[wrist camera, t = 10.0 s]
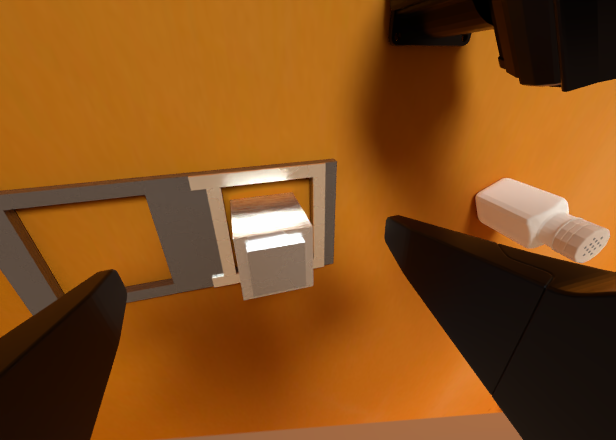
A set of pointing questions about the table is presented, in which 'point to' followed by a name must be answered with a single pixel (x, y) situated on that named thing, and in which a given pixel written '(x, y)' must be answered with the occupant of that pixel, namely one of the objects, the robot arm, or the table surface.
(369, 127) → the table surface
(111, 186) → the rail
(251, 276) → the grey upright rectangular block
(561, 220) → the pepper shaker
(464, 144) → the table surface
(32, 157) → the table surface
